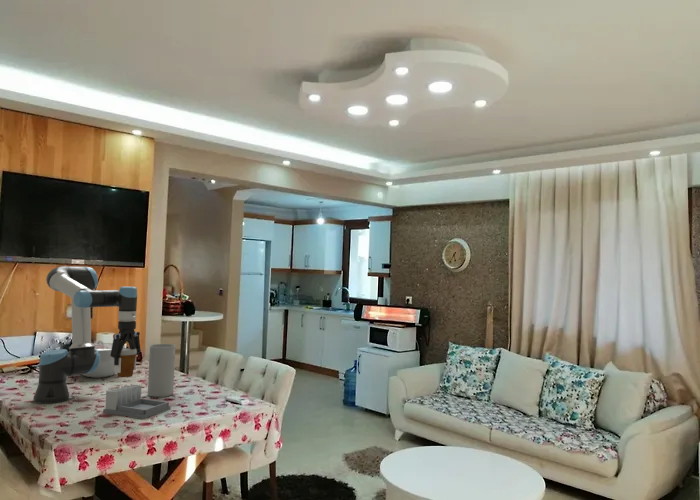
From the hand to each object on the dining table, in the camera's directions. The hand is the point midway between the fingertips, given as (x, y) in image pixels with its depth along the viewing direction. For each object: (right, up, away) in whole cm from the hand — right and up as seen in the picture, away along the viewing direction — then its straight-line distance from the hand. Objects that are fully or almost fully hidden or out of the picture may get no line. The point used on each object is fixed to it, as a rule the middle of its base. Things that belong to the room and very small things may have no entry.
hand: (125, 370), depth 245 cm
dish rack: (+5, -18, +1) cm, 19 cm away
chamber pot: (-47, -20, +75) cm, 90 cm away
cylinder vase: (+4, -20, +33) cm, 39 cm away
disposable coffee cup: (0, -3, 0) cm, 3 cm away
